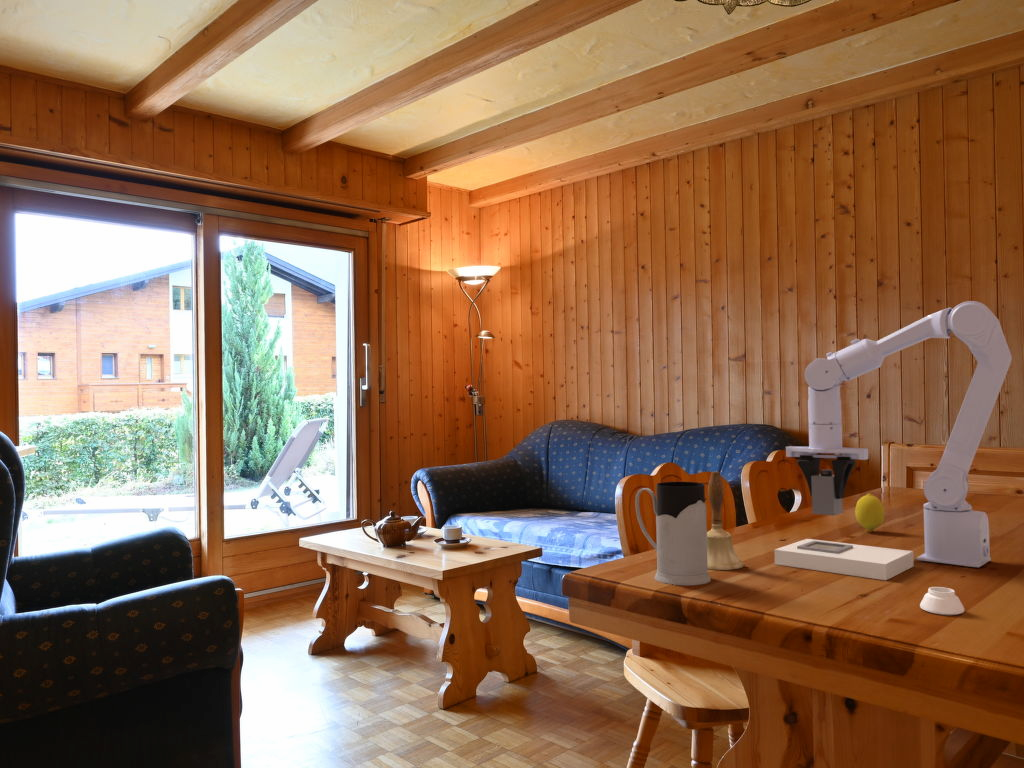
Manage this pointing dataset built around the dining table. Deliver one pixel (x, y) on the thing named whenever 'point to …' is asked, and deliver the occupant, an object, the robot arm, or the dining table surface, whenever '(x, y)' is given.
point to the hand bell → (719, 531)
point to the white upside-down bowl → (942, 601)
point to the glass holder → (679, 532)
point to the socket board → (845, 558)
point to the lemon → (869, 512)
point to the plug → (825, 494)
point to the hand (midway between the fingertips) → (827, 497)
